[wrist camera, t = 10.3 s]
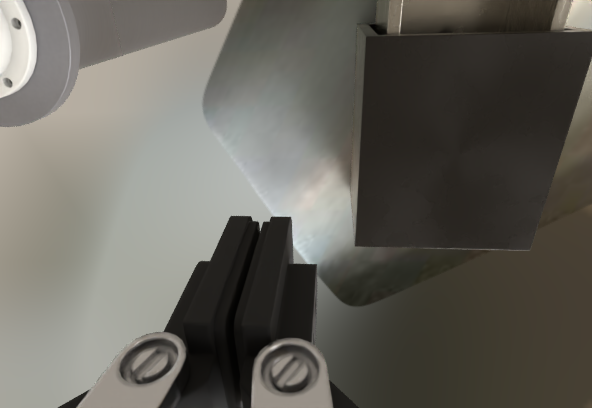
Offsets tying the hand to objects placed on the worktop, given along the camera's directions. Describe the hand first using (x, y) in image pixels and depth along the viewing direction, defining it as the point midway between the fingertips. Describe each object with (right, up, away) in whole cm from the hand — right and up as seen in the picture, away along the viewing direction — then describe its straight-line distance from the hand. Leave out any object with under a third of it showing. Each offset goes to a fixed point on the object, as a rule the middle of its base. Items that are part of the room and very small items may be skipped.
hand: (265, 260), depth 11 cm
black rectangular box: (+12, +9, +22) cm, 27 cm away
